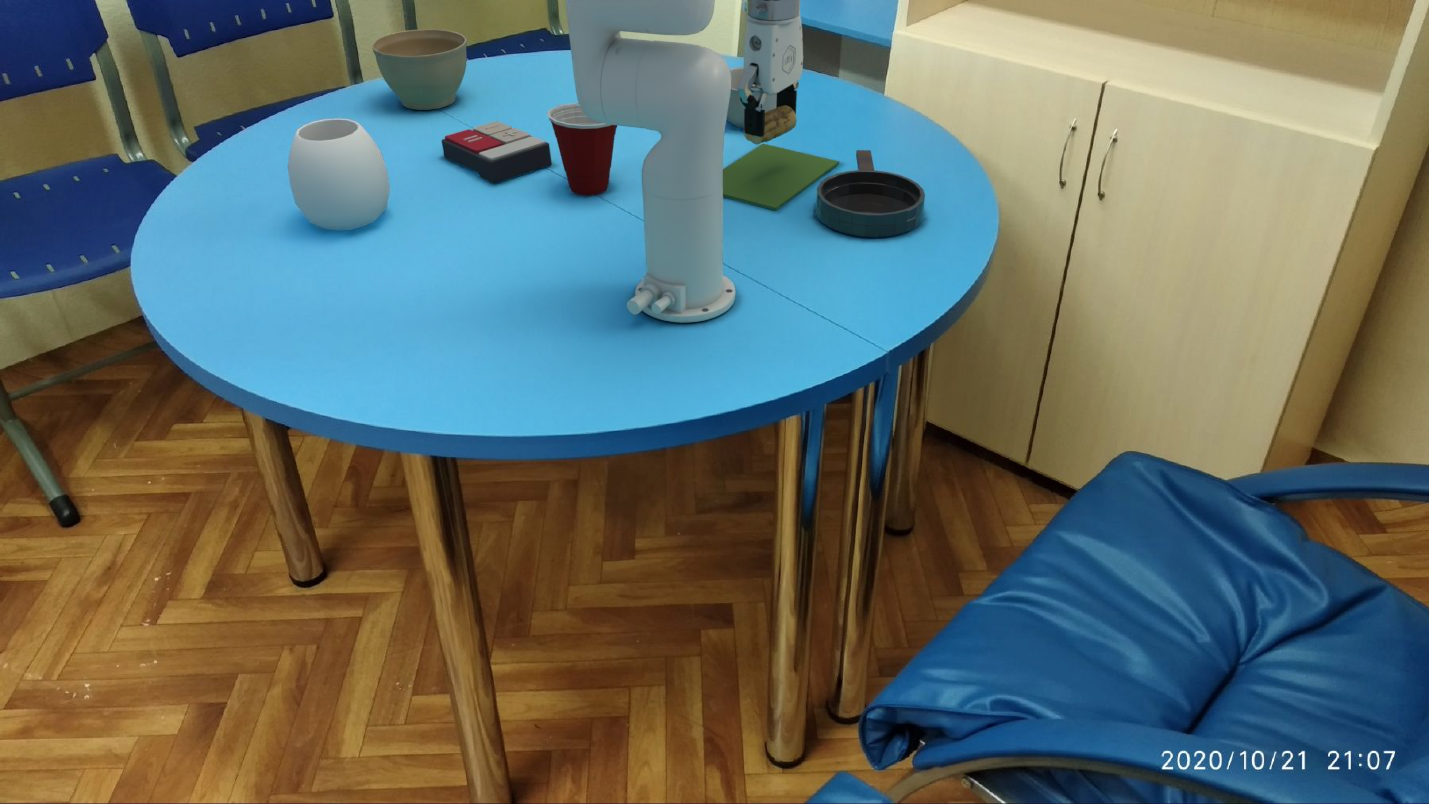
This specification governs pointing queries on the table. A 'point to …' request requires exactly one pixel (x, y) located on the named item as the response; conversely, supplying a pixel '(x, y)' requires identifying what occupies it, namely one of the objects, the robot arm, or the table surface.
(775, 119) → the carved stone cylinder
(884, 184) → the pan
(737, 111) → the teacup
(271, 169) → the table surface
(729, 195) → the green mat
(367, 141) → the white vase
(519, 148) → the calculator
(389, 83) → the planter bowl
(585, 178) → the plastic cup
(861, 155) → the pan handle
